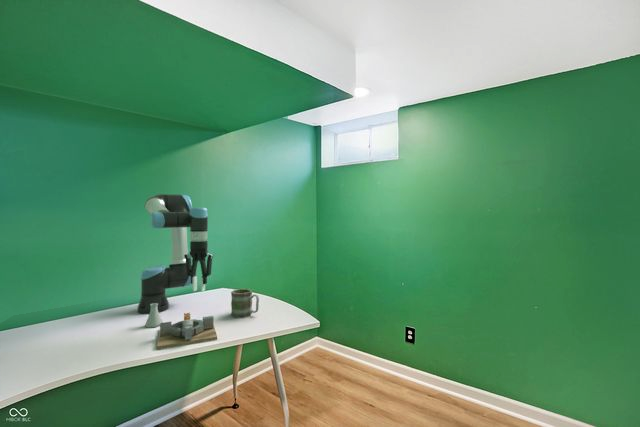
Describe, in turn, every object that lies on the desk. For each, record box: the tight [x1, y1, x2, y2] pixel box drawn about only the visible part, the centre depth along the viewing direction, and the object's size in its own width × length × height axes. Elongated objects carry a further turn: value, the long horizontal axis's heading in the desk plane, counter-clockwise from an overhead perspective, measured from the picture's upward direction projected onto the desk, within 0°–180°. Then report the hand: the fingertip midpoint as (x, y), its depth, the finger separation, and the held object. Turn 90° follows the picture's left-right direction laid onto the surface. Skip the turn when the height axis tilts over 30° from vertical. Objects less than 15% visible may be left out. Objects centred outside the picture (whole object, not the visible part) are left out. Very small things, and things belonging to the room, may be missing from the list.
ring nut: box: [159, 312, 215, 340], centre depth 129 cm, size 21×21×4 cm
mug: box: [230, 288, 260, 319], centre depth 155 cm, size 16×11×12 cm
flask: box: [144, 303, 164, 329], centre depth 140 cm, size 7×7×10 cm
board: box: [156, 319, 218, 351], centre depth 129 cm, size 22×22×6 cm
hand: (198, 290), depth 139 cm, fingers open, 3 cm apart
